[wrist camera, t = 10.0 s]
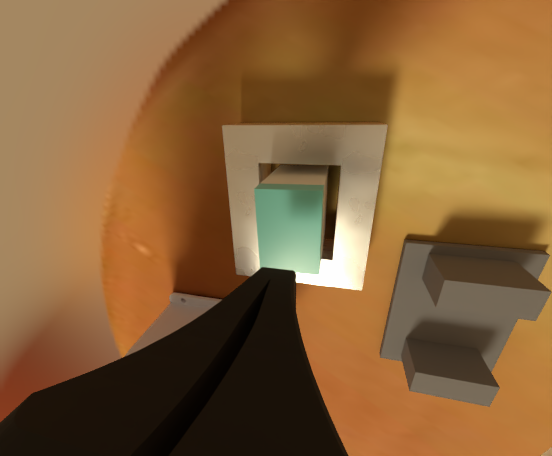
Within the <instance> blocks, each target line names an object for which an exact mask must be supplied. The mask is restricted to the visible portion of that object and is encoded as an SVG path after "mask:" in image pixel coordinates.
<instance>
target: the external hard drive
mask: <svg viewBox="0 0 552 456" xmlns="http://www.w3.org/2000/svg"><path fill="white" fill-rule="evenodd" d="M540 456H552V447H551V448H550V449H548V450H547V451H546V452H544V453H543V454H542V455H540Z"/></svg>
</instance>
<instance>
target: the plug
mask: <svg viewBox="0 0 552 456" xmlns="http://www.w3.org/2000/svg"><path fill="white" fill-rule="evenodd" d="M328 167H329V165H280V166H279V167H278V168H276V169H275V170H274V171H273V172H272V173H271V174H270V175H269V176H268V177H267V178H265V179H264V180H263V181H262V182H261V183H260V184H259V185H258V186H257V187H256V188H254V194H255V208H256V222H257V236H258V249H259V263H260V268H261V267H267V268H276V269H285V270H293V271H294V272H295V273H303V274H313V275H319V273H320V266H321V258H322V251H323V243H324V235H325V228H326V208H327V187H328Z"/></svg>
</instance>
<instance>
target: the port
mask: <svg viewBox="0 0 552 456" xmlns="http://www.w3.org/2000/svg"><path fill="white" fill-rule="evenodd" d="M387 127H388V125H387V124H384V123H381V122H300V123H236V124H228V125H222V131H223V142H224V152H225V163H226V173H227V184H228V194H229V205H230V215H231V225H232V236H233V246H234V257H235V267H236V275H244V276H252V275H253V274H254V273H255V272H257V271H258V270H259V269H260V263H259V249H258V236H257V222H256V208H255V194H254V188H256V187H257V186H258V185H259V184H260V183H261V182H262V181H263V180H264V179H265V178H267V177H268V176H269V175H270V174H271V163H274V164H309V165H340V176H339V188H338V199H337V210H336V221H335V232H334V239H327V238H324V243H323V251H322V258H321V266H320V273H319V275H313V274H303V273H296V282H299V283H307V284H315V285H323V286H331V287H339V288H347V289H355V290H362V287H363V281H364V274H365V268H366V262H367V255H368V249H369V242H370V236H371V229H372V223H373V217H374V210H375V204H376V197H377V191H378V185H379V178H380V172H381V165H382V159H383V153H384V146H385V140H386V133H387Z"/></svg>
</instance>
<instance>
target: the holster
mask: <svg viewBox="0 0 552 456" xmlns="http://www.w3.org/2000/svg"><path fill="white" fill-rule="evenodd" d="M549 256H550V255H549V254H547V253H546V252H545V251H537V250H525V249H513V248H501V247H489V246H477V245H465V244H453V243H441V242H429V241H417V240H405V239H404V244H403V249H402V253H401V258H400V262H399V267H398V271H397V276H396V280H395V285H394V290H393V294H392V299H391V303H390V308H389V312H388V317H387V321H386V326H385V331H384V335H383V340H382V344H381V349H380V358H386V359H391V360H397V361H402V362H403V366H404V370H405V374H406V378H407V382H408V386H409V391H412V392H418V393H423V394H428V395H433V396H438V397H443V398H448V399H453V400H458V401H463V402H468V403H473V404H478V405H483V406H488V407H490V405H491V403H492V401H493V399H494V397H495V395H496V394H497V392H498V390H499V388H500V387H499V386H498V384H497V382H496V380H495V379H494V377H493V375H492V373H491V372H492V370H493V368H494V366H495V364H496V362H497V360H498V358H499V356H500V354H501V352H502V350H503V348H504V346H505V344H506V342H507V340H508V338H509V336H510V334H511V332H512V330H513V328H514V326H515V324H516V322H517V320H518V319H524V320H532V321H536V320H537V318H538V316H539V314H540V312H541V311H542V309H543V307H544V305H545V303H546V301H547V299H548V298H549V296H550V294H551V291H550V290H549V289H548V288H546V287H545V286H544V285H543V284H542V283H541V282H539V281H538V278H539V276H540V274H541V272H542V270H543V268H544V266H545V264H546V262H547V260H548V258H549Z"/></svg>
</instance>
